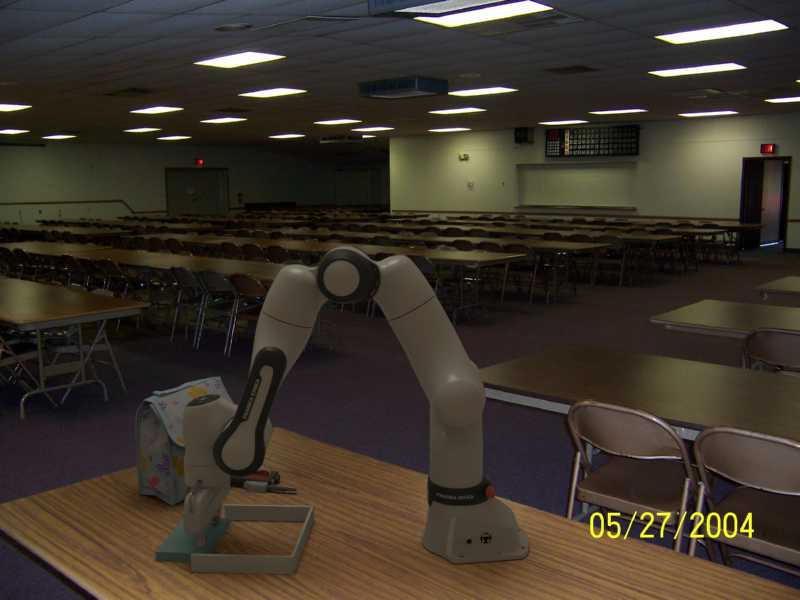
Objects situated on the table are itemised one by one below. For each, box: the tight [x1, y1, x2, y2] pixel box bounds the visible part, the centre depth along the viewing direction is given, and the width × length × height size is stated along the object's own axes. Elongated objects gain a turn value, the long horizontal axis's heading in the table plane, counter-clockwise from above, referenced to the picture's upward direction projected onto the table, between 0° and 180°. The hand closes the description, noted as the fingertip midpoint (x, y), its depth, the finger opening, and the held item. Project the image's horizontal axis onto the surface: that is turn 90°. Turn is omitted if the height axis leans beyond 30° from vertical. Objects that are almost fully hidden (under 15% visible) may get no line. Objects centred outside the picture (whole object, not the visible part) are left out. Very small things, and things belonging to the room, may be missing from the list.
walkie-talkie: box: [230, 466, 297, 494], centre depth 182 cm, size 9×4×20 cm
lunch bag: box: [134, 376, 235, 506], centre depth 179 cm, size 22×17×26 cm
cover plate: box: [154, 517, 231, 563], centre depth 152 cm, size 10×16×3 cm, turn 175°
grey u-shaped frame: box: [190, 503, 315, 575], centre depth 151 cm, size 20×23×4 cm
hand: (209, 534), depth 152 cm, fingers open, 8 cm apart
